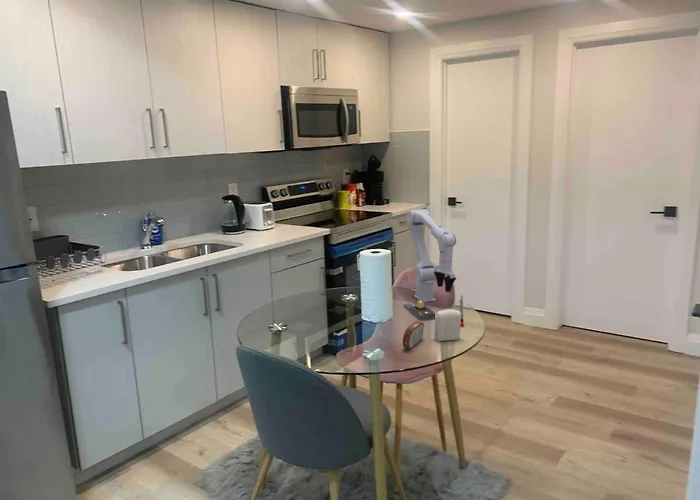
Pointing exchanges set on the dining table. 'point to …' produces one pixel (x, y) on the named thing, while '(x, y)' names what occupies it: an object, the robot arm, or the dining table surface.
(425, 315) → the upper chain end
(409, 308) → the lower chain end
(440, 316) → the photo printer
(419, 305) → the pin
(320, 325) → the dining table surface
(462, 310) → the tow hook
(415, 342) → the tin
